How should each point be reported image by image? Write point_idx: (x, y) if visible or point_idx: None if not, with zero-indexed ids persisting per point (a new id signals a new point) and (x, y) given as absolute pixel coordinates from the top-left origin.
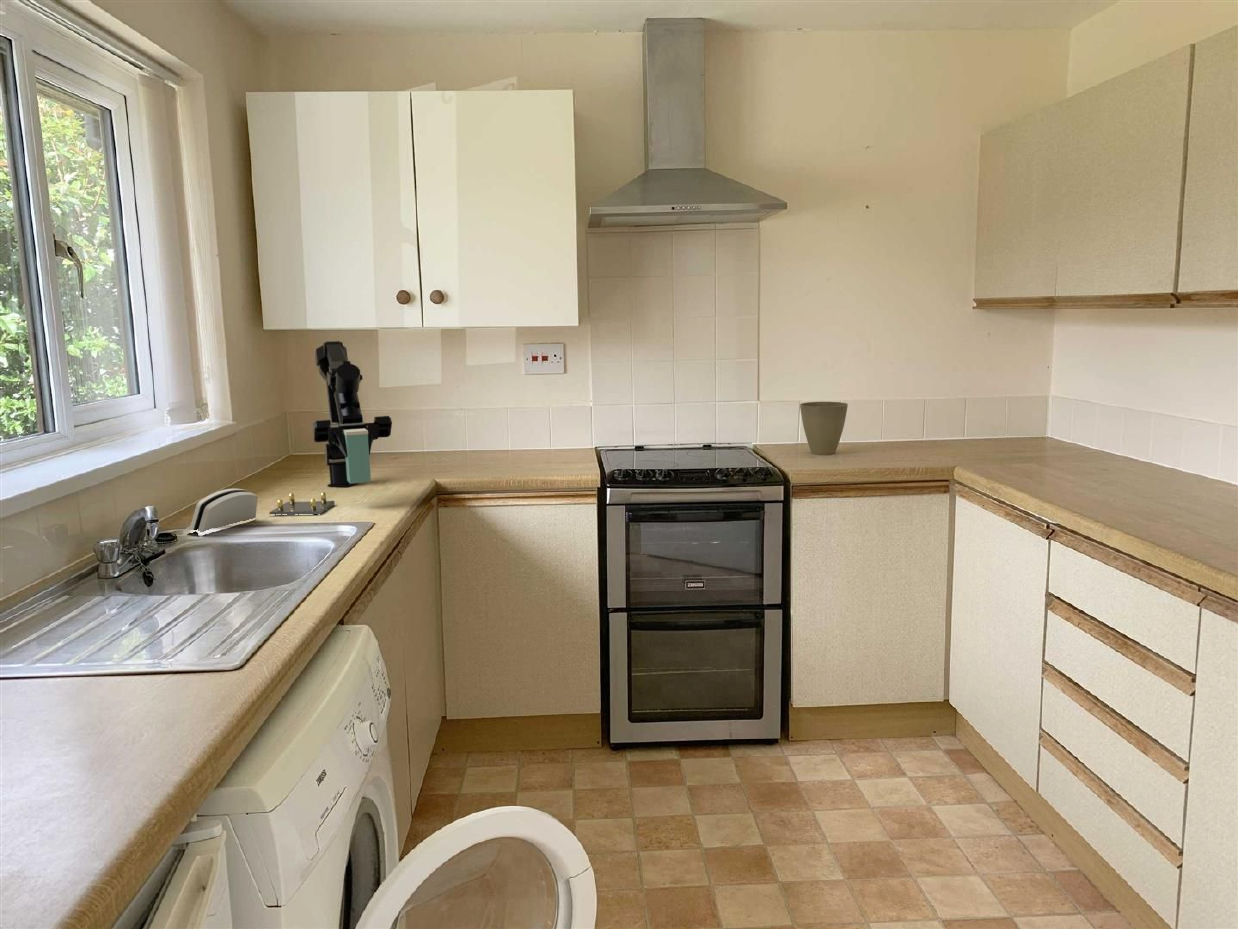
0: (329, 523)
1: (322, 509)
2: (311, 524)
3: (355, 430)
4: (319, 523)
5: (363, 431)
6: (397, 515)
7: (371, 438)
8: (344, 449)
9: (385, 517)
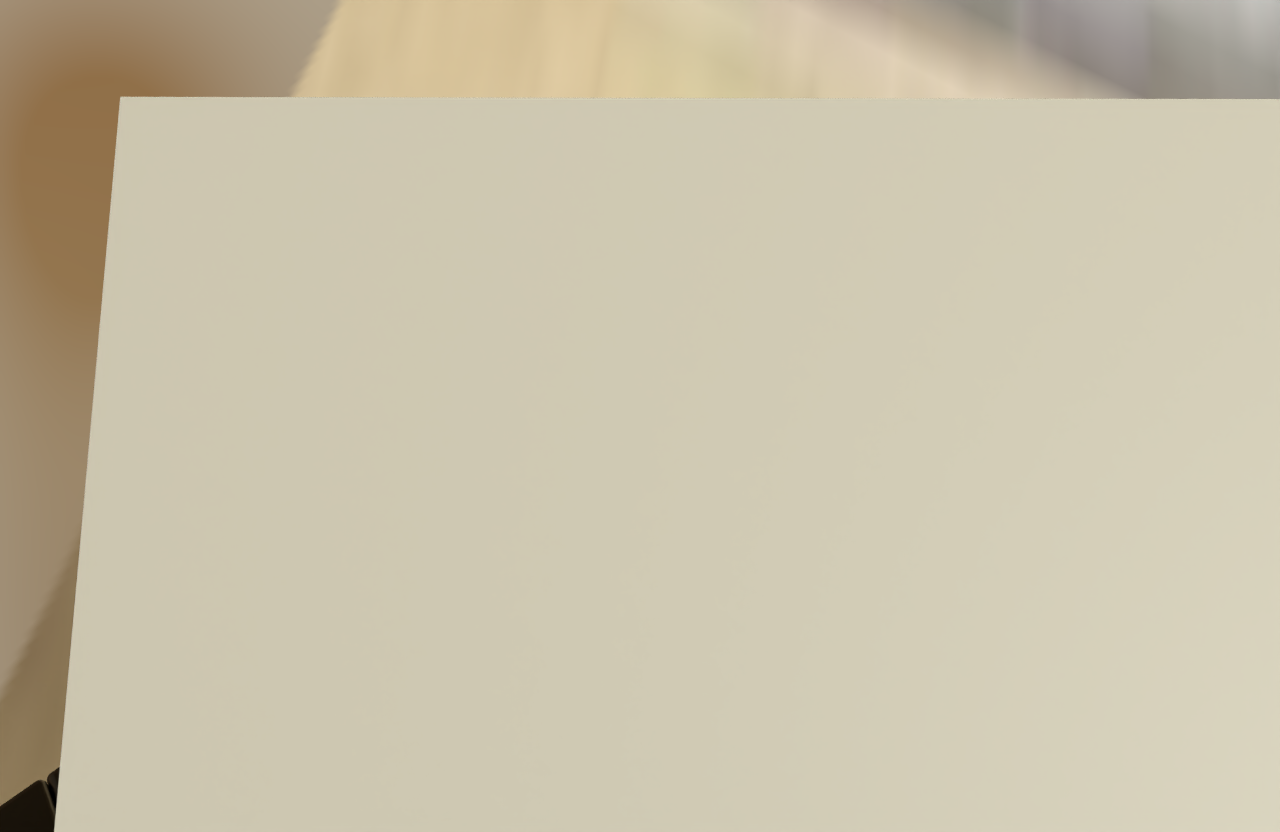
0: (1032, 37)
1: None
2: (1202, 79)
3: (963, 775)
4: (1127, 85)
5: (450, 102)
6: (340, 57)
7: (35, 813)
8: None
9: (474, 27)
